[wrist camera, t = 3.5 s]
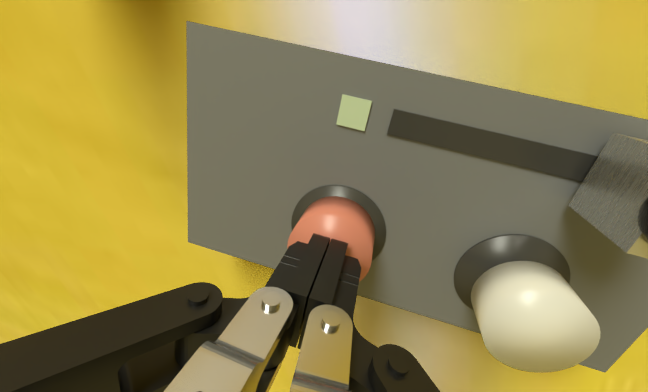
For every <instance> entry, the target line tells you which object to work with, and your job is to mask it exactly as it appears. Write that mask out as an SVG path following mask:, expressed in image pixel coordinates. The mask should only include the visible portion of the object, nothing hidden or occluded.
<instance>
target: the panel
mask: <svg viewBox="0 0 648 392" xmlns="http://www.w3.org/2000/svg"><path fill="white" fill-rule="evenodd" d="M613 133H617V134H621V135H626V136H630V137H635V138H639V139H644V140H648V120H646V119H641V118H637V117H632V116H627V115H623V114H618V113H613V112H609V111H604V110H599V109H595V108H590V107H585V106H581V105H576V104H571V103H567V102H562V101H557V100H553V99H548V98H544V97H539V96H534V95H530V94H525V93H520V92H516V91H511V90H506V89H502V88H497V87H492V86H488V85H483V84H478V83H474V82H469V81H464V80H460V79H455V78H450V77H446V76H441V75H436V74H432V73H427V72H422V71H418V70H413V69H408V68H404V67H399V66H394V65H390V64H385V63H380V62H376V61H371V60H366V59H362V58H357V57H352V56H348V55H343V54H338V53H334V52H329V51H324V50H320V49H315V48H310V47H306V46H301V45H296V44H292V43H287V42H282V41H278V40H273V39H268V38H264V37H259V36H254V35H250V34H245V33H240V32H236V31H231V30H226V29H222V28H217V27H212V26H208V25H203V24H198V23H194V22H189V21H187V154H188V242H190V243H193V244H196V245H199V246H202V247H206V248H209V249H212V250H215V251H218V252H222V253H225V254H228V255H231V256H234V257H238V258H241V259H244V260H247V261H250V262H254V263H257V264H260V265H263V266H266V267H270V268H273V269H276V267H277V266H278V264H279V263H280V261H281V259H282V257H283V256H284V254H285V252H286V251H287V245H288V239H289V236H290V234H291V232H292V231H293V229H294V228H295V226H296V224H297V223H298V221H299V220H300V218H301V217H302V215H303V213H304V212H305V210H306V209H307V208H308V207H309V205H311V204H312V203H313V202H315V201H316V200H318V199H321V198H324V197H329V196H338V197H344V198H347V199H350V200H352V201H355V202H356V203H358V204H359V205H361V206H362V207H363V208H364V209H365V210H366V211H367V212H368V214H369V215H370V217H371V219H372V221H373V223H374V227H375V239H374V247H373V254H372V262H371V266H370V269H369V271H368V273H367V275H366V276H365V277H364V278H363V279H362V280H361V281H360V282H359V285H358V291H357V295H359V296H362V297H366V298H369V299H372V300H375V301H378V302H382V303H385V304H388V305H391V306H394V307H398V308H401V309H404V310H407V311H410V312H414V313H417V314H420V315H423V316H426V317H430V318H433V319H436V320H439V321H442V322H445V323H449V324H452V325H455V326H458V327H461V328H465V329H468V330H471V331H474V332H477V333H481V331H480V328H479V325H478V322H477V319H476V315H475V312H474V309H473V306H472V302H471V291H472V288H473V285H474V283H475V282H476V280H477V279H478V278H479V277H480V276H481V275H482V274H483V273H484V272H486V271H487V270H489V269H490V268H492V267H494V266H497V265H499V264H503V263H506V262H512V261H533V262H538V263H541V264H544V265H547V266H549V267H551V268H553V269H554V270H556V271H557V272H558V273H560V274H561V275H562V276H563V278H564V279H565V280H566V281H567V282H568V284H569V285H570V286H571V288H572V289H573V290H574V291H575V293H576V294H577V295H578V296H579V298H580V299H581V300H582V302H583V303H584V304H585V305H586V307H587V308H588V309H589V310H590V312H591V313H592V314H593V316H594V317H595V318H596V320H597V322H598V324H599V327H600V340H599V344H598V346H597V348H596V349H595V350H594V352H593V353H592V354H591V355H590V356H589V357H588V358H587V359H585V360H584V361H582V362H581V363H579V364H580V365H583V366H586V367H589V368H593V369H596V370H599V371H602V372H606V371H607V370H608V369H609V368H610V367H611V366H612V365H613V364H614V363H615V362H616V360H617V359H618V358H619V357H620V356H621V355H622V354H623V353H624V352H625V351H626V350H627V349H628V348H629V347H630V346H631V345H632V343H633V342H634V341H635V340H636V339H637V338H638V337H639V336H640V335H641V334H642V333H643V332H644V331H645V330H646V329H647V328H648V259H647V258H643V257H640V256H636V255H632V254H628V253H626V252H625V251H623V250H622V249H621V248H620V247H619V246H617V245H616V244H615V243H614V242H612V241H611V240H610V239H609V238H607V237H606V236H605V235H604V234H603V233H601V232H600V231H599V230H598V229H596V228H595V227H594V226H593V225H592V224H590V223H589V222H588V221H587V220H585V219H584V218H583V217H582V216H581V215H579V214H578V213H577V212H576V211H574V210H573V209H572V208H571V207H569V206H568V205H569V203H570V202H571V200H572V198H573V197H574V195H575V194H576V192H577V190H578V189H579V187H580V185H581V184H582V182H583V181H584V179H585V177H586V176H587V174H588V173H589V171H590V169H591V168H592V166H593V165H594V163H595V161H596V160H597V158H598V156H599V155H600V153H601V152H602V150H603V148H604V147H605V145H606V144H607V142H608V140H609V139H610V137H611V135H612V134H613Z"/></svg>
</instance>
